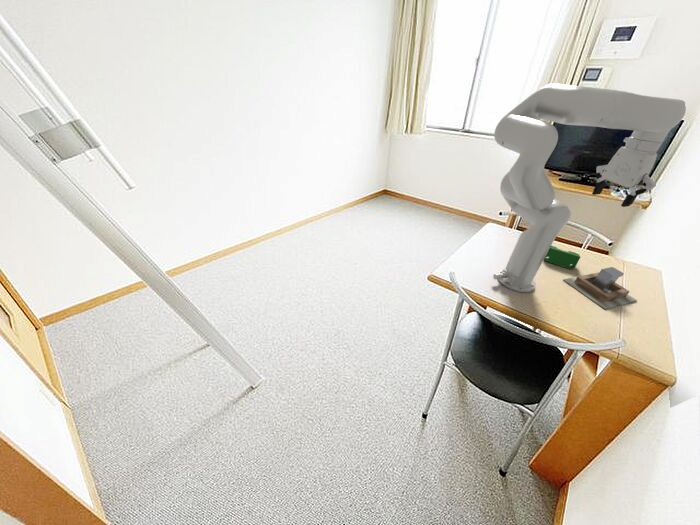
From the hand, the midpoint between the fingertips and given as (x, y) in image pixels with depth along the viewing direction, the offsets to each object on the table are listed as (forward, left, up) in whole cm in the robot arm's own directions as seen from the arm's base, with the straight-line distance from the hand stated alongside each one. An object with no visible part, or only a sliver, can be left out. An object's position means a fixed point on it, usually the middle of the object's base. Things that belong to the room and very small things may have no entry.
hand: (609, 200), depth 99 cm
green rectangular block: (+4, +7, -31) cm, 32 cm away
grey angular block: (+3, -11, -30) cm, 32 cm away
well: (+3, -11, -30) cm, 32 cm away
